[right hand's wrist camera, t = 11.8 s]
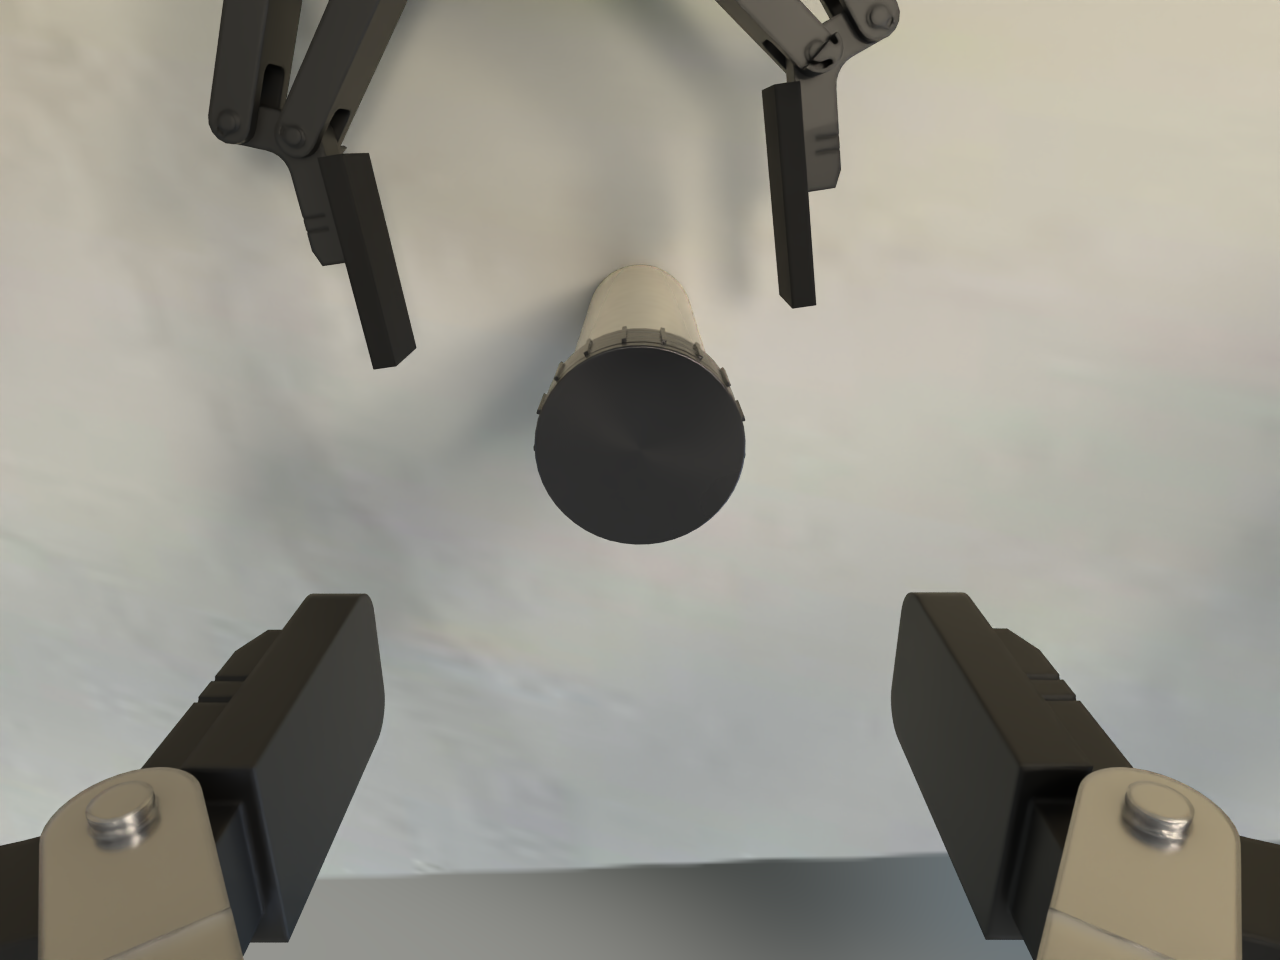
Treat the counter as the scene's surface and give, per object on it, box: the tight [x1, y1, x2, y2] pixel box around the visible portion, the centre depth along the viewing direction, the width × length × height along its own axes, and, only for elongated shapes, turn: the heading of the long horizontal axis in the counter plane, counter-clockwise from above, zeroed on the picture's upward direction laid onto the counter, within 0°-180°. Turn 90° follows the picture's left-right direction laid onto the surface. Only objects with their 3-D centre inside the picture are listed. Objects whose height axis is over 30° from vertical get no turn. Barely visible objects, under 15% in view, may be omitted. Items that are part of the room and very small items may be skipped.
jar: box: [574, 265, 706, 353], centre depth 27 cm, size 4×4×16 cm
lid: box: [534, 326, 745, 544], centre depth 21 cm, size 5×5×2 cm
